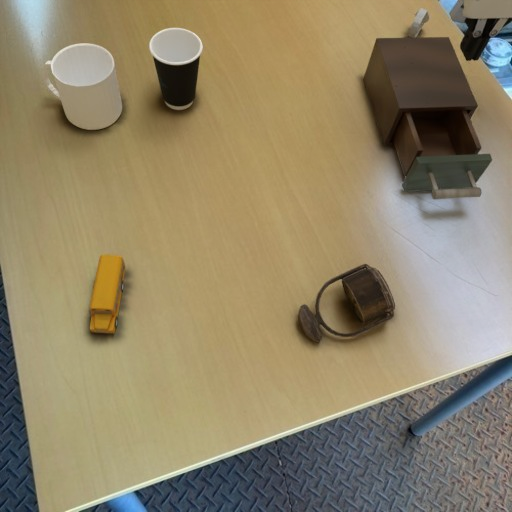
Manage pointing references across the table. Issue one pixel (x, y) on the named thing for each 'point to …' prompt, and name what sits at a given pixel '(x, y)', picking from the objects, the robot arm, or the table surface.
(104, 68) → the mug
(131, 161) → the table surface
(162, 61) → the dixie cup
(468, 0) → the robot arm
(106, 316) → the toy bus
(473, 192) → the drawer
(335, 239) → the table surface
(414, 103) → the cabinet
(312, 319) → the mechanical counter
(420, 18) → the wristwatch
